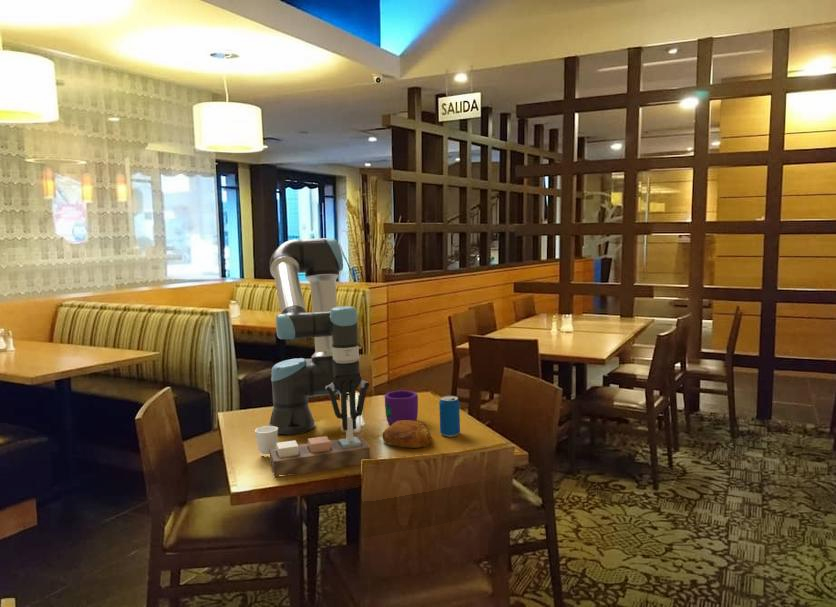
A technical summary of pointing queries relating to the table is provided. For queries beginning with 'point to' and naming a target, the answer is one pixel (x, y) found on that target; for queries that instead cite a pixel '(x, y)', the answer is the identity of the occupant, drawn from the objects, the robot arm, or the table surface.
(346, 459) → the key block
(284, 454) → the ivory key
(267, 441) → the cup
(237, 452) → the table surface
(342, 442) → the slate key
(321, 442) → the terracotta key
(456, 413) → the beverage can
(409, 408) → the mug
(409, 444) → the pastry
